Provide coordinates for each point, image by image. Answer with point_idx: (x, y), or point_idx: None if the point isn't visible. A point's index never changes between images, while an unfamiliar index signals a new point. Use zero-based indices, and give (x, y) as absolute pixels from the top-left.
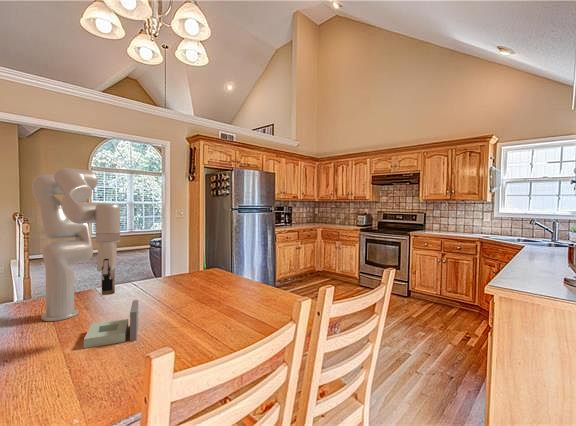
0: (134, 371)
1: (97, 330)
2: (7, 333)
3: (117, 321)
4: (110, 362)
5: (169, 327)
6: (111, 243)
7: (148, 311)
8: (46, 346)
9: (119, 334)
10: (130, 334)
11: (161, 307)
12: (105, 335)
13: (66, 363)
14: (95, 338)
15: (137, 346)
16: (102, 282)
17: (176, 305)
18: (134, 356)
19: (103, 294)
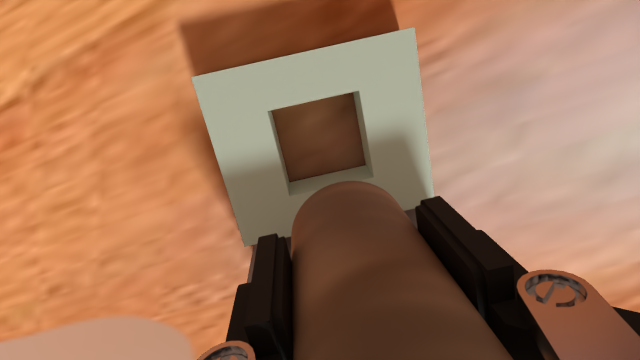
0: (15, 325)
1: (297, 103)
2: None
3: (408, 162)
4: (76, 230)
5: None
6: None
7: (602, 222)
8: None
9: (238, 224)
10: (252, 260)
11: (635, 267)
12: (227, 168)
13: (64, 60)
14: (208, 127)
15: (205, 282)
16: (248, 306)
17: None
18: (122, 295)
19: (297, 214)
